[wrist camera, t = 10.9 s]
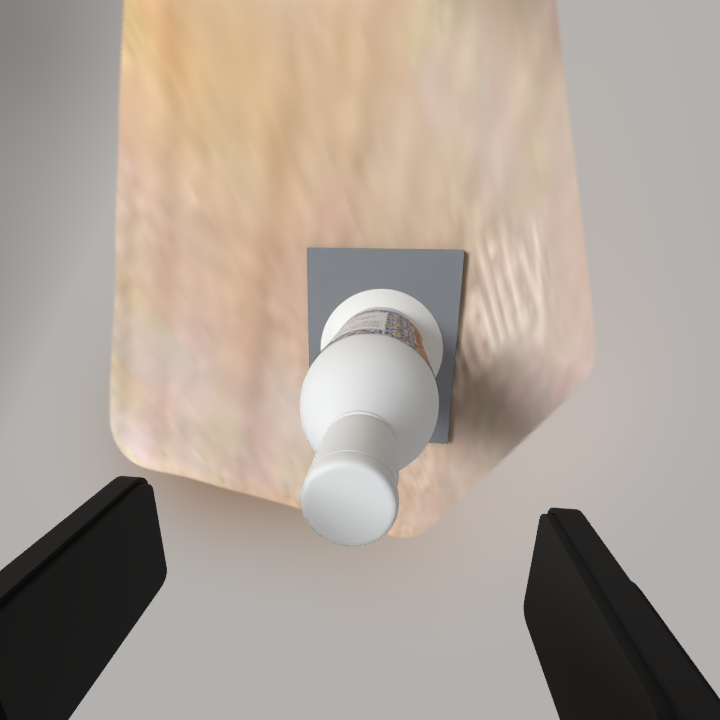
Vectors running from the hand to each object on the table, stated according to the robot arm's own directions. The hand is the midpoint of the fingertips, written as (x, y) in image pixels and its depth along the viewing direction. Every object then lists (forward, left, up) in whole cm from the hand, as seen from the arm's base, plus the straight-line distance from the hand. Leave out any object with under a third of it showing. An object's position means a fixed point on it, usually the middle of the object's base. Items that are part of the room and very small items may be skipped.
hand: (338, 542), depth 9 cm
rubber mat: (+1, 0, -22) cm, 22 cm away
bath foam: (0, 0, -22) cm, 22 cm away
